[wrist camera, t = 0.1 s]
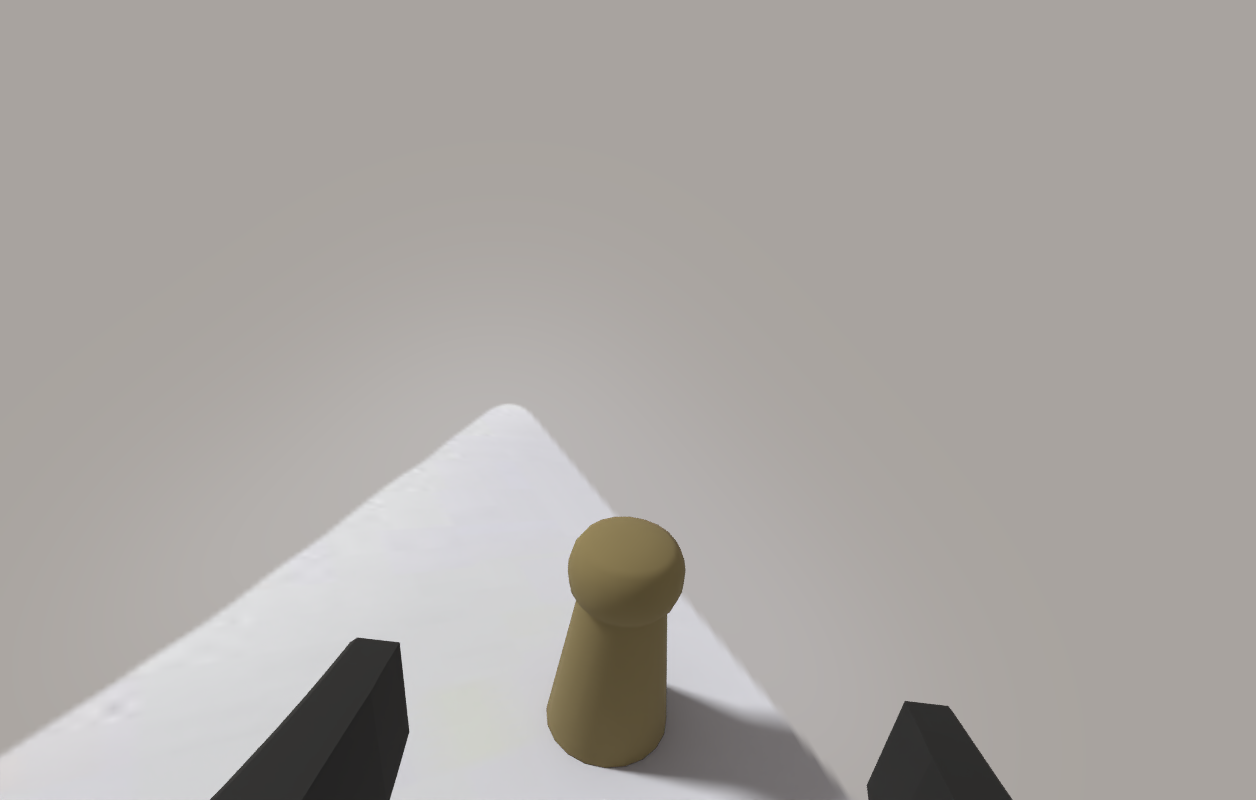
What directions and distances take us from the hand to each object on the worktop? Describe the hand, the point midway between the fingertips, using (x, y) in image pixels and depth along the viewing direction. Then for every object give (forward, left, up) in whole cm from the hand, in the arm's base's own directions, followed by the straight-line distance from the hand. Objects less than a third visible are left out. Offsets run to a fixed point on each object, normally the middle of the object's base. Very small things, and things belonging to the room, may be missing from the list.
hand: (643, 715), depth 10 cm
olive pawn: (+18, 0, -22) cm, 28 cm away
